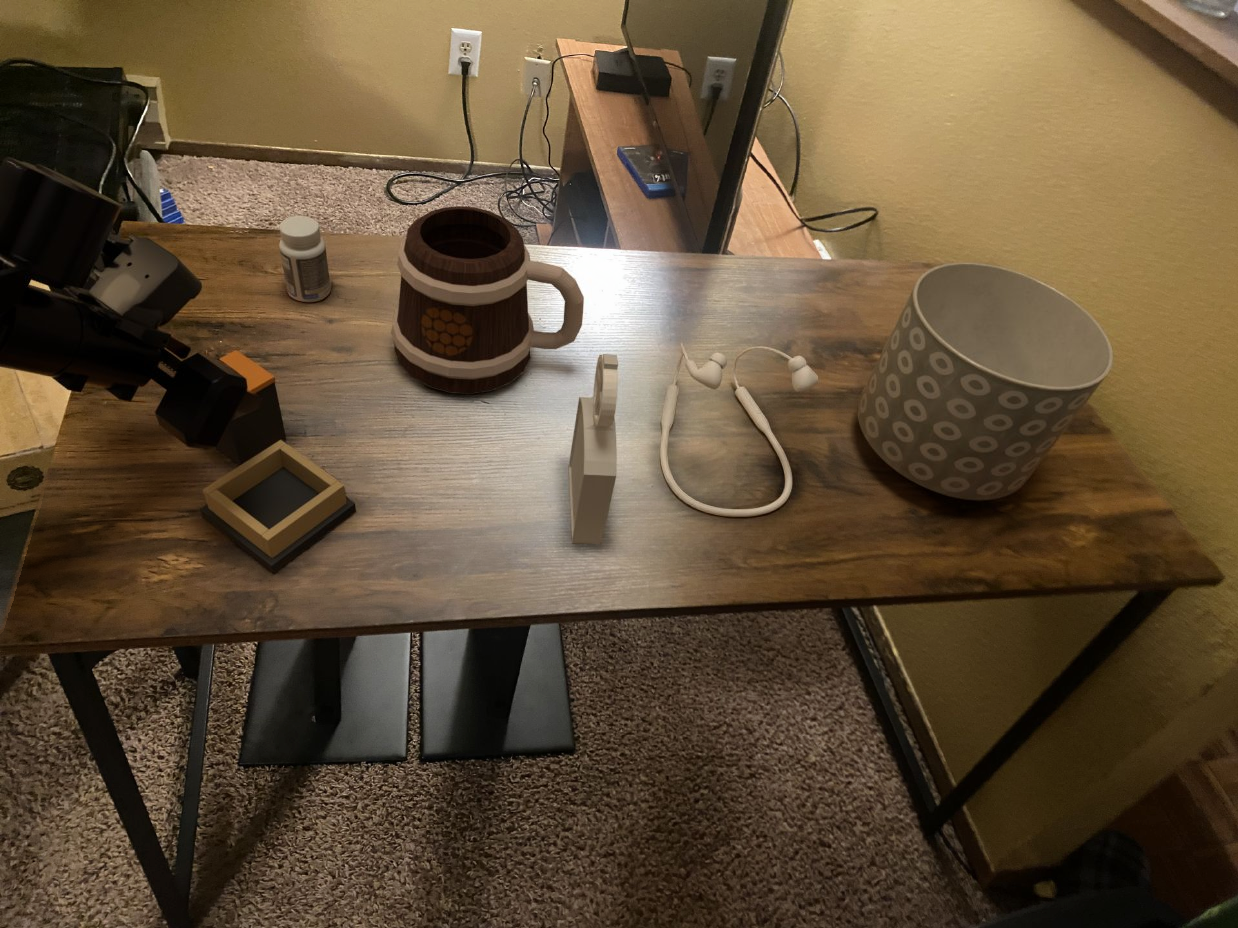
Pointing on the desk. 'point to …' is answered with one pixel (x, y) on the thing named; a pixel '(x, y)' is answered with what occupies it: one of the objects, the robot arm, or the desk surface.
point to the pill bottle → (304, 259)
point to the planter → (980, 379)
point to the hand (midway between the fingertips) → (222, 377)
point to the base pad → (276, 505)
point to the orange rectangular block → (253, 414)
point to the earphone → (712, 379)
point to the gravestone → (594, 455)
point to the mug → (472, 301)
